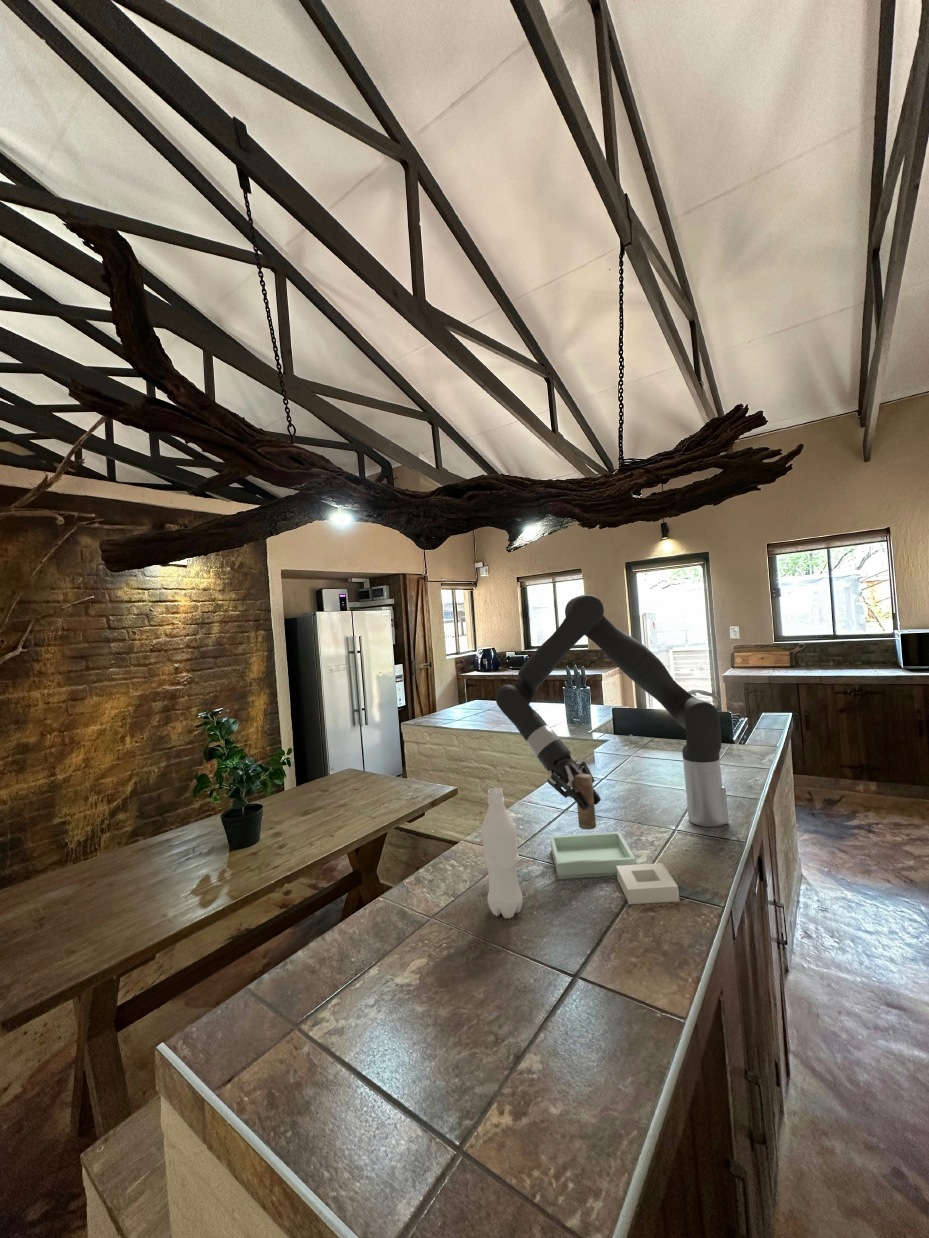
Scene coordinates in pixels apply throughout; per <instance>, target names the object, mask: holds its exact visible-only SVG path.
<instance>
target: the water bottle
mask: <svg viewBox="0 0 929 1238" xmlns="http://www.w3.org/2000/svg"><path fill="white" fill-rule="evenodd" d="M487 797H488V798H487V804H488V807H487V808H488V809H487V811H486V814H485V817H484V820H483V822H482V826H481V835H482V846H483V858H484V861H485V864H486V867H487V874H488V883H489V884H488V893H487V903H488V906H489V909H490V912H491V913H492V914H493V915H494V916H495V915H496V916H495V917H497V916H498V915H499V916H500V915H502V917H503V918H504V919H507V918H508V919H512V918H513V917H514V916H515V913H516V914H519V913H520V912H521V909H522V907H523V906H522V905H523V901H524V900H523V899H524V898H523V893H522V890H521V887H520V883H519V880H518V870H517V867H518V866H517V865H518V859H519V855H520V854H519V852H518V843H517V828H516V824H515V821H514V820H513V817H512V816H511V815H510V813H509V812H508V810H507V808H506V807H505V800H506V799H504V797H505V796H504V795H503V789H502V788H501V787H491V788H489V789H488V790H487ZM499 916H498V917H499ZM511 917H512V918H511Z"/></svg>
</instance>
